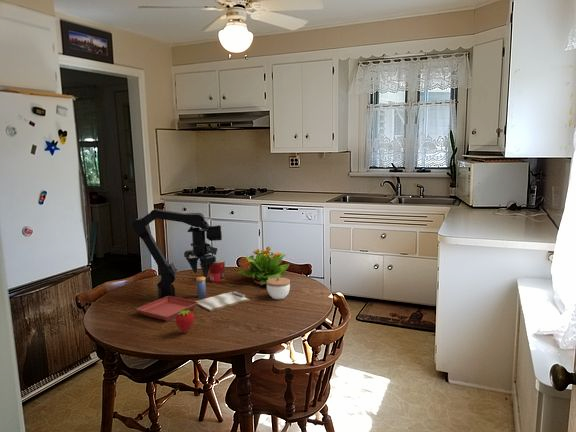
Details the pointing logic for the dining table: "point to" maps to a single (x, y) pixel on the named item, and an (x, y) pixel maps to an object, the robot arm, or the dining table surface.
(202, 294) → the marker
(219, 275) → the canned food
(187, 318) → the strawberry
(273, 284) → the lidded jar
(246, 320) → the dining table surface
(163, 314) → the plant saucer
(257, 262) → the potted flower
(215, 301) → the clipboard
